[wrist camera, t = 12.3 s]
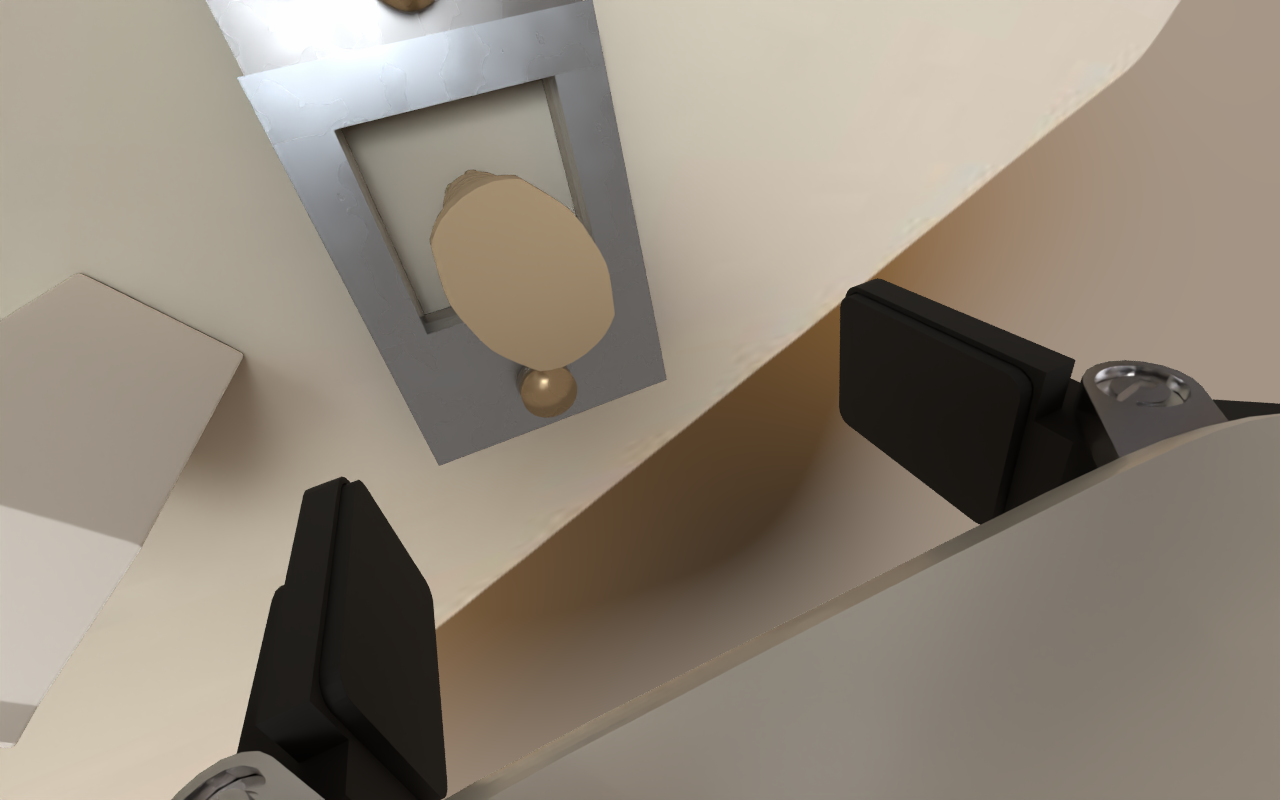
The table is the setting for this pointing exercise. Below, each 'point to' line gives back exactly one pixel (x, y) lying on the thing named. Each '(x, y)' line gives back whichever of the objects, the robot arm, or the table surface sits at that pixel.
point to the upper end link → (346, 222)
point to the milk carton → (86, 463)
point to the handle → (521, 270)
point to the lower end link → (360, 44)
